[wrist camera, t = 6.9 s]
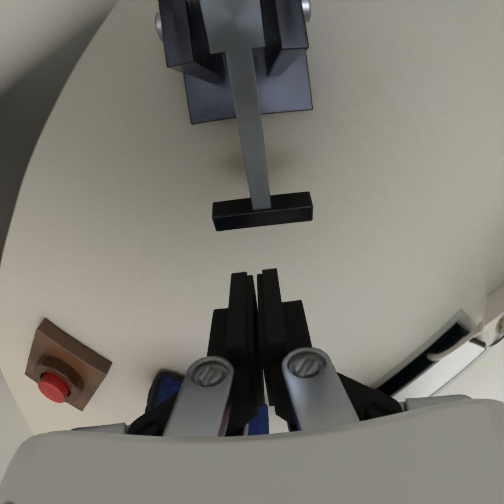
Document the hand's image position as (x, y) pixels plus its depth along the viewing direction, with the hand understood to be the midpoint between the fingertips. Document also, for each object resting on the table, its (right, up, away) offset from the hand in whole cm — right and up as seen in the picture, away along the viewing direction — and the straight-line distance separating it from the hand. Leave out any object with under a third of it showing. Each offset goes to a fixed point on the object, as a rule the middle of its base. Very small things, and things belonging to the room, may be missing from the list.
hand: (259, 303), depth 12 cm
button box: (-25, -13, +24) cm, 37 cm away
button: (-25, -15, +21) cm, 35 cm away
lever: (0, +9, +3) cm, 10 cm away
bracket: (-1, +17, +9) cm, 19 cm away
